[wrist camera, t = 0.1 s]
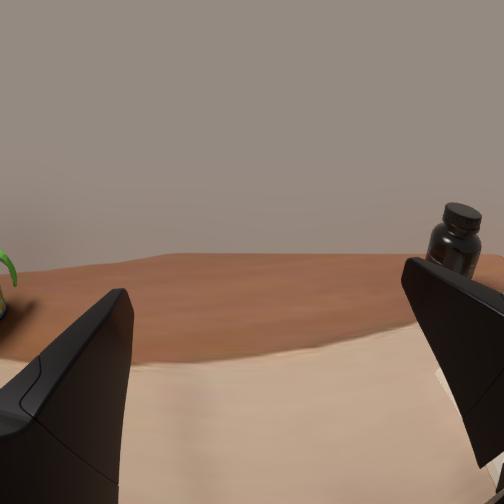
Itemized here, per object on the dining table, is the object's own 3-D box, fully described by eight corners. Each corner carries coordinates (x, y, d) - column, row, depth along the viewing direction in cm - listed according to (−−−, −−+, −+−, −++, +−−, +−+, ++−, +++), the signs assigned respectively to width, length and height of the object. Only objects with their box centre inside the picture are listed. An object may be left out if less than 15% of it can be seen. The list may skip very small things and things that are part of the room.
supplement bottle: (446, 279, 35) (469, 200, 29) (469, 310, 29) (501, 224, 23) (407, 282, 35) (428, 196, 29) (428, 316, 29) (459, 222, 23)
